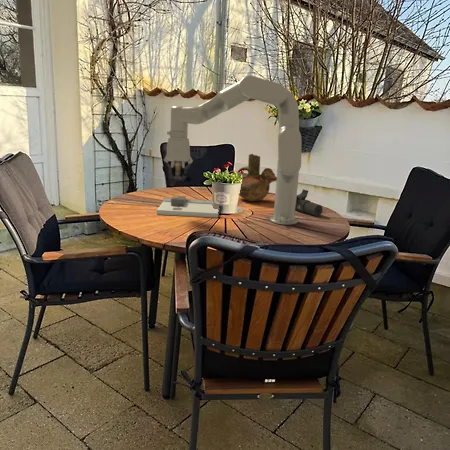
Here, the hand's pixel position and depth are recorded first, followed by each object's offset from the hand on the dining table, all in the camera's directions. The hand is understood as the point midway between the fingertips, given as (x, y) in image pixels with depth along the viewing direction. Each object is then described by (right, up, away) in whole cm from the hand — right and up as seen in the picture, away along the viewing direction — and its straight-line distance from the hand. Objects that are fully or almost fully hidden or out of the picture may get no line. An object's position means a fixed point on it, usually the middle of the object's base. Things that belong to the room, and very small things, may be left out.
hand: (177, 175), depth 192 cm
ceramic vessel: (+37, -9, +39) cm, 55 cm away
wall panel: (+4, -15, +12) cm, 20 cm away
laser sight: (+60, -16, +22) cm, 66 cm away
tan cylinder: (0, -1, 0) cm, 1 cm away
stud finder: (-1, -12, +14) cm, 18 cm away
